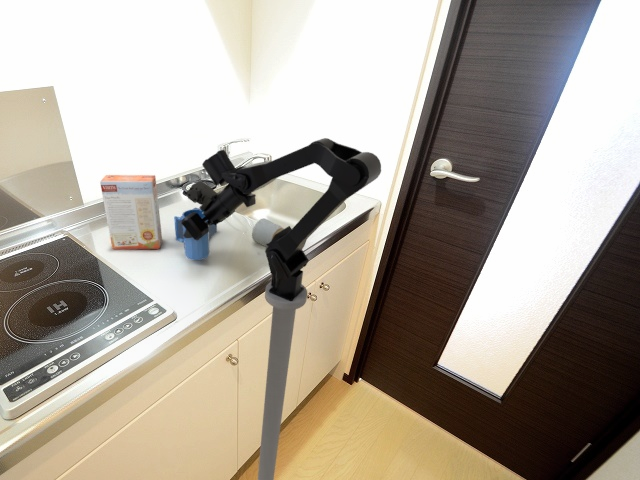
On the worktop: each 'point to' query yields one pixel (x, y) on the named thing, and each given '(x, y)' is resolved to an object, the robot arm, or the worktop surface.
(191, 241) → the blue mug
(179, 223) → the slate-blue box
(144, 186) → the cracker box
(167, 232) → the worktop surface
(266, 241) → the grey cylinder
